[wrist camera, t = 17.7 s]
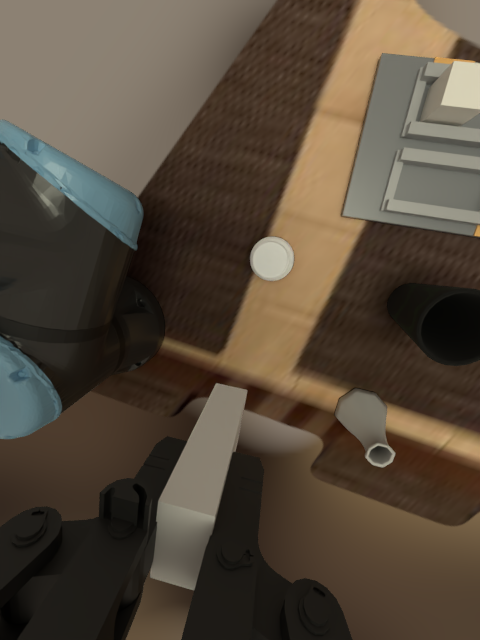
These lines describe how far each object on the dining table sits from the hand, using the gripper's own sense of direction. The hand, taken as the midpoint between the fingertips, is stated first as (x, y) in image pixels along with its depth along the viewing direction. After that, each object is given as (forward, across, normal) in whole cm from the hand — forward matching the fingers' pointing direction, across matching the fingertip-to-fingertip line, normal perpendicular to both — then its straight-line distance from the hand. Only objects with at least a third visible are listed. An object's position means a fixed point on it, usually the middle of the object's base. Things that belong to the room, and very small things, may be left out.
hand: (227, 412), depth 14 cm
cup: (+30, +19, +3) cm, 35 cm away
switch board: (+29, +20, +21) cm, 41 cm away
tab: (+28, +15, +25) cm, 41 cm away
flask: (+30, +17, -14) cm, 37 cm away
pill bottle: (+30, 0, +6) cm, 30 cm away
